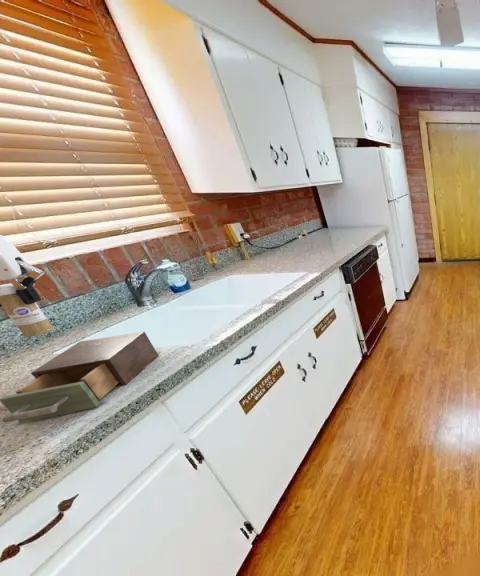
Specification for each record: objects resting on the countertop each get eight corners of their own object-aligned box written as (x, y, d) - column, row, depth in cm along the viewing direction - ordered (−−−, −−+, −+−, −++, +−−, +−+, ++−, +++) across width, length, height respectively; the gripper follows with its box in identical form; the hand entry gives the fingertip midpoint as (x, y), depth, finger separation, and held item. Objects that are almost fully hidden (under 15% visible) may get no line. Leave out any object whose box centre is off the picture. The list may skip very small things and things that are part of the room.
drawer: (80, 421, 69) (61, 398, 66) (-2, 440, 64) (-27, 416, 61) (133, 373, 84) (119, 352, 81) (70, 385, 80) (53, 364, 77)
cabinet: (127, 385, 81) (108, 359, 77) (53, 400, 76) (30, 372, 72) (159, 355, 93) (144, 331, 89) (97, 366, 88) (79, 341, 84)
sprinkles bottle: (27, 338, 74) (-10, 290, 69) (21, 335, 75) (-16, 287, 70) (58, 330, 78) (25, 283, 72) (51, 327, 79) (18, 281, 74)
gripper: (-128, 239, 59) (-57, 318, 67) (4, 232, 66) (55, 304, 73) (-81, 231, 65) (-21, 304, 73) (35, 225, 72) (79, 292, 79)
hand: (17, 303), depth 73 cm, fingers closed on sprinkles bottle, 4 cm apart
